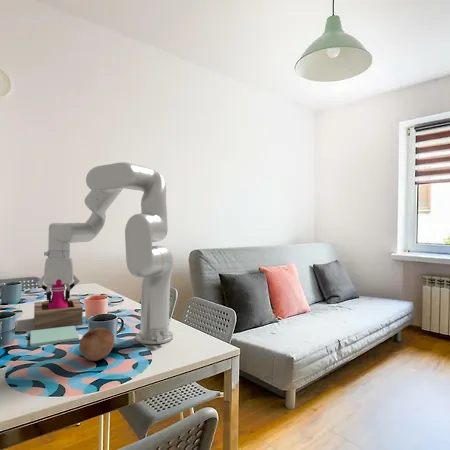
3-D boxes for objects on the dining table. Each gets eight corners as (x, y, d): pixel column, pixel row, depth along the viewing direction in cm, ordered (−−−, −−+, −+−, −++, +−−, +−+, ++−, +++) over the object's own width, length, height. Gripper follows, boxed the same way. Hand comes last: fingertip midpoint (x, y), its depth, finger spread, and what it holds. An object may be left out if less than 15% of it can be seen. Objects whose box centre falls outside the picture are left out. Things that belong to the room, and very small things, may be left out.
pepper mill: (59, 324, 127) (60, 271, 127) (42, 323, 129) (43, 270, 128) (72, 319, 134) (72, 269, 134) (56, 317, 136) (56, 268, 135)
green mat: (78, 339, 112) (78, 337, 112) (30, 346, 105) (30, 344, 105) (74, 327, 124) (74, 325, 124) (30, 333, 117) (30, 330, 117)
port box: (82, 324, 128) (82, 307, 128) (33, 330, 121) (34, 312, 120) (77, 313, 142) (78, 298, 142) (34, 318, 135) (34, 302, 134)
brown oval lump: (89, 374, 94) (78, 348, 90) (82, 354, 101) (71, 329, 97) (122, 356, 99) (113, 330, 94) (112, 338, 106) (103, 314, 101)
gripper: (33, 256, 124) (32, 305, 124) (84, 255, 132) (83, 301, 132) (33, 254, 130) (33, 301, 130) (81, 253, 139) (80, 297, 139)
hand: (58, 300), depth 131 cm, fingers closed on pepper mill, 5 cm apart
